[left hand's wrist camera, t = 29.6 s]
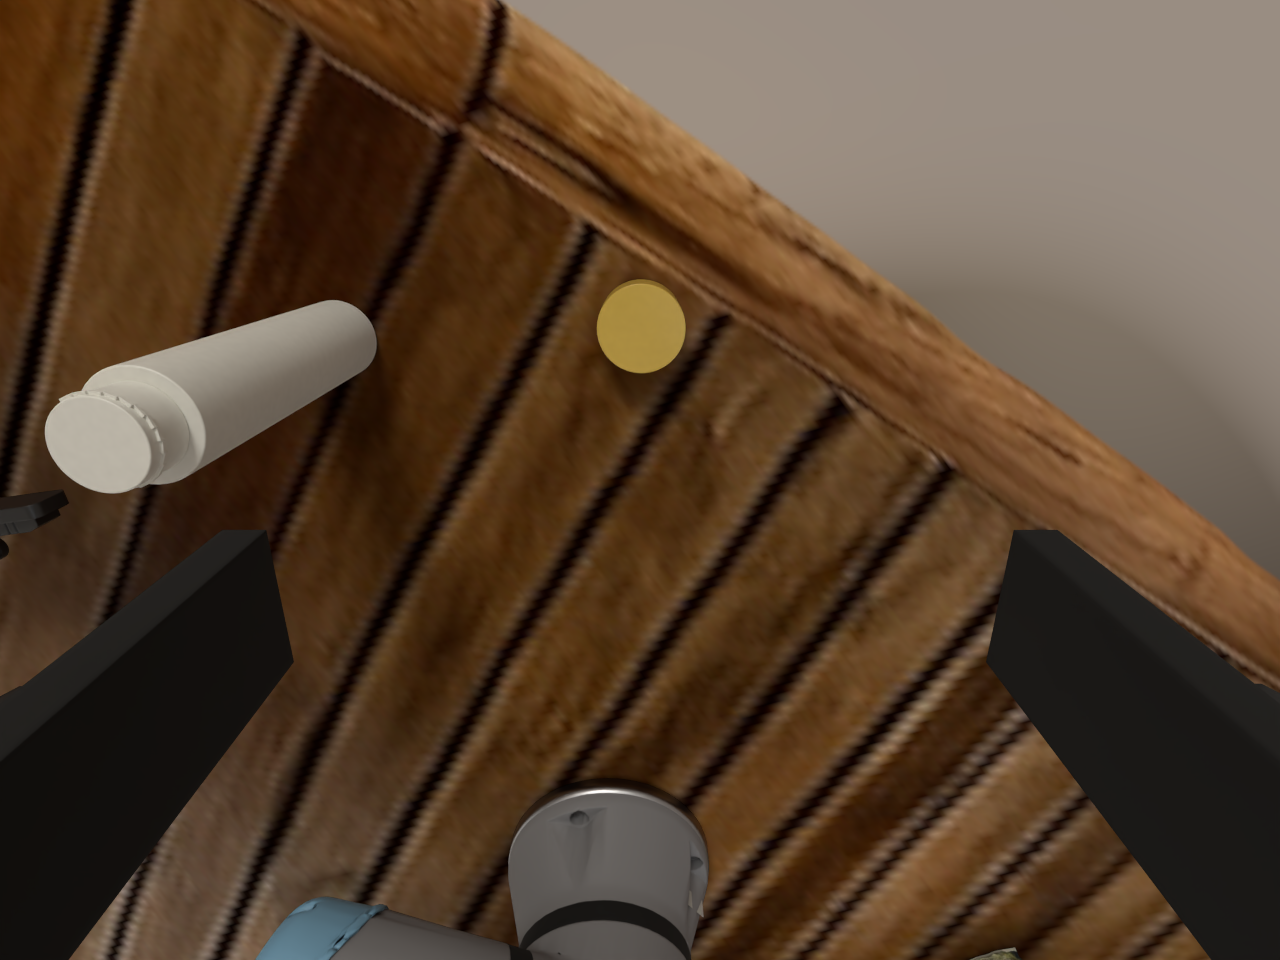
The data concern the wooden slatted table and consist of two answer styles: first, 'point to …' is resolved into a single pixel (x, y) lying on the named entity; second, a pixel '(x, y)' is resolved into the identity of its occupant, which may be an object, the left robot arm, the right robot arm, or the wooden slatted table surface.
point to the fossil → (1000, 955)
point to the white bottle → (203, 396)
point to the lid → (641, 326)
